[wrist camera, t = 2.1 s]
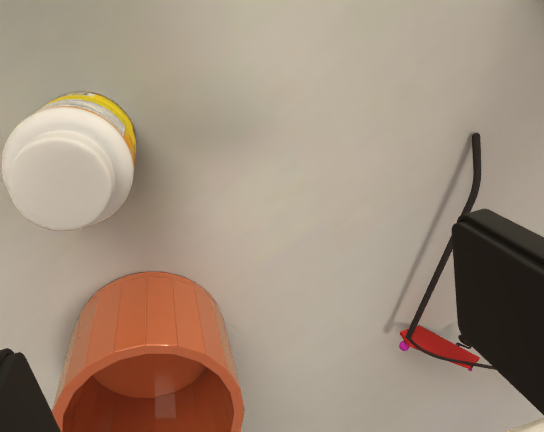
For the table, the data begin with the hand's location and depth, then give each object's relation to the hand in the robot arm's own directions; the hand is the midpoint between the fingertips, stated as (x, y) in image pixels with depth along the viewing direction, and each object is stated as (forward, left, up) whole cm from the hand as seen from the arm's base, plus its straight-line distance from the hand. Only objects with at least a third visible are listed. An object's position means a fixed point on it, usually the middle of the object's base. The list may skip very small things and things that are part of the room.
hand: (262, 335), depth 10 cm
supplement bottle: (-4, -4, -22) cm, 23 cm away
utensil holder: (+8, -12, -22) cm, 26 cm away
